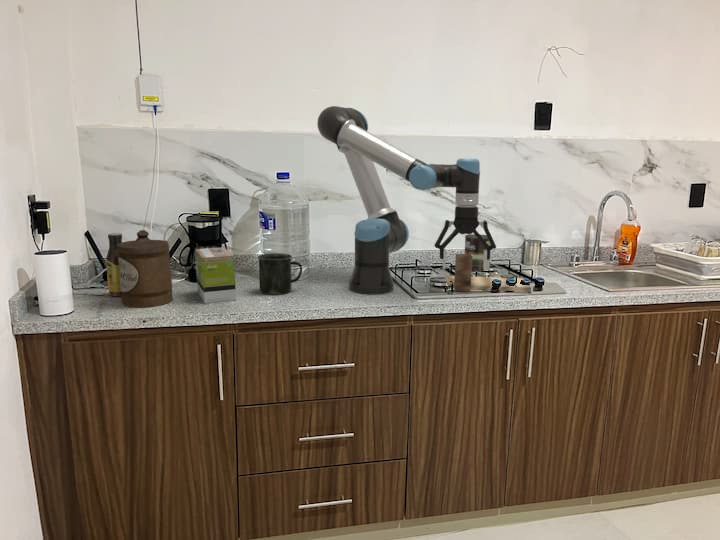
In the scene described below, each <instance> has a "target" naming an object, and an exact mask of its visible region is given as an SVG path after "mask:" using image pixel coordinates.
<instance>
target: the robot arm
mask: <svg viewBox="0 0 720 540" xmlns="http://www.w3.org/2000/svg"><path fill="white" fill-rule="evenodd" d="M317 130H318V132H319V134H320V136H322V137H323V138H324V139H325V140H327V141H329V142H330V143H332V144H335V145H336V148H337V150H338V152H340V153H342V154H344V156H345V159H346V161H347V165H348V166H349V170H350V172H351V175H352V177H353V180H354V183H355V186H356V187H357V190H358V192H359V196H360V199H361V201H362V203H363V206H364V209H365V212H366V214H367V219H362V220H360V221H358V222H357V223H356V224H355V227H354V228H355V229H354V233H353V234H354V267H353V270H352V273H351V277H350V280H349V283H348V286H349V290H350V291H351V292H355V293H359V294H366V295H378V294H386V293H390V292H392V291H393V290H394V281H393V278H392V274H391V270H390V254H391V253H395V252H397V251H399V250H402V248H403V247H405V246H406V244H407V242H408V240H409V237H410V233H409V228H408V225H407V224H406V223H405V221H403V220H402V219H400V217H399V214H398V211H397V210H396V209H394V208H392V207H391V205H390V202H389V200H388V198H387V194H386V192H385V190H384V187H383V184H382V182H381V178H380V176H379V174H378V171H377V168H376V166H375V164H378V166H380V167H382V168H384V169H386V170H387V171H389V172H391V173H394V174H395V175H396V176H398V177H401V178H402V179H404V180H406V181H407V182H409V183H410V185H411V187H412V188H413V189H415V190H419V191H427V190H430V189H435V188H455V201H454V204H455V205H456V206H455V208H454V220H449V219H446V220H445V221H444V226H443V228H442V230H441V232H440V234H439V235H438V237H437V240H436V241H435V243H434V247H435V248H436V249H438V250H439V259H440V260H442V269H443V270H446V263H447V261H446V260H447V250H446V247H447V246H448V245H449V244H450V243H451V242H452V241H453V240H454V239H455V237H456V236H457V235H458V234H460V235H470V234H475V235H476V237H477V238H478V239H479V240H480V241H481V243H482V244H483V245H484V246H485V248H486V249H484V254H483V269H484V270H486V264H487V260H489V259H490V260H491V252H490V251H492V250H495V249H496V248H497V245H496V244H495V241H494V239H493V237H492V233H491V232H490V230H489V228H488V221H487V220H485V219H484V220H480V221H479V219H478V216H479V207H478V205H479V194H480V191H479V190H480V177H481V169H480V166H481V165H480V164H481V162H480V160H479V159H478V158H458V159H457V160H456V164H444V163H443V164H441V163H440V164H438V163H437V164H436V163H430V164H429V163H428V164H427V163H426V162H424V161H422V160H420V159H418V158H417V157H415V156H413V155H412V154H410V153H407V152H406V151H404V150H402V149H401V148H400V147H399V148H398V147H396V146H394V145H393V144H391V143H389V142H388V141H386V140H385V139H382V138H380V137H379V136H377V135H375V134H373V133H371V132H370V131H368V130H369V122H368V119H367V118H366V115H364V114H363V113H362V112H361V111H359V110H358V109H356V108H353V107H342V106H337V105H335V106H334V105H332V106H328V107H325V108H324V109H323V110H322V111H321V112H320V114H319V116H318V118H317ZM452 225H453V226H454V230H453V231H452V233H450V235H448V237H446V239H445V240H444V238H445V236H446V234H447V232H448V230H449V228H451V227H452ZM479 226H480V227H481V228H483V231H484V233H485V235H487V238H488V240H489V242H490V244H491V245H488V244H487V243H486V242H485V240H484V239H483V238H482V237H481V236H480V235H481V234H480V232H478V231H477V228H478V227H479ZM443 240H444V241H443ZM442 241H443V242H442Z"/></svg>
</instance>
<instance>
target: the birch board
mask: <svg viewBox="0 0 720 540" xmlns="http://www.w3.org/2000/svg"><path fill="white" fill-rule="evenodd" d="M507 278H508V277H497V276H494V277H493V276H491V277H490V276H489V277H488V276H471V290H482V291H490V290H491V288H492V287H493V286H492V281H493V280H494V279H498V280H501V281H502V284H501V286H500V291H502V292H501V293H506V292H505V291H515V292H530V293H529V294H532V287H531V285H530V284H529V285H522V284H520V282H521V280H525V279H524V277H516V278H517V283H516V284H515V285H514V286H509V285H507V284H506V279H507ZM445 279H446V281H447V285H448V286H451V283H450V281H452V282H453V288H454V290H455V282H454V279H455V275H444V280H445ZM503 291H504V292H503Z"/></svg>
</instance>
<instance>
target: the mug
mask: <svg viewBox="0 0 720 540" xmlns="http://www.w3.org/2000/svg"><path fill="white" fill-rule="evenodd" d="M292 258H293V256H292V255H291V254H289V253H281V252H280V253H279V252H277V253H264V254H259V255H257V260H258V274H259V275H258V277H259V279H258V280H259V282H258V283H259V291H260V293H261V294H265V295H271V296H272V295H286V294H288V293H290V292H291V290H292V284H293V283H296V282H298V281H299V280H300V279H301V276H302V273H303V266H302V264H301V263H300V262H297V261H291V260H292ZM292 265H295V266H298V267H299V272H298V275H297V277H295V278H294V279H292Z"/></svg>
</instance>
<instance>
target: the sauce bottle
mask: <svg viewBox="0 0 720 540" xmlns="http://www.w3.org/2000/svg"><path fill="white" fill-rule="evenodd" d="M107 239H108V243H109V244H108V246H109V247H108V251H107V254H106V258H105V265H106V277H107V288H108V289H107V290H108V293H109V294H108V295H110V296H111V297H121V288H120V275H119V258H118V256H119V255H118V250H117V245H118V244H119V243H122V242H123V234H122V233H120V232H111V233H108V234H107Z"/></svg>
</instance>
